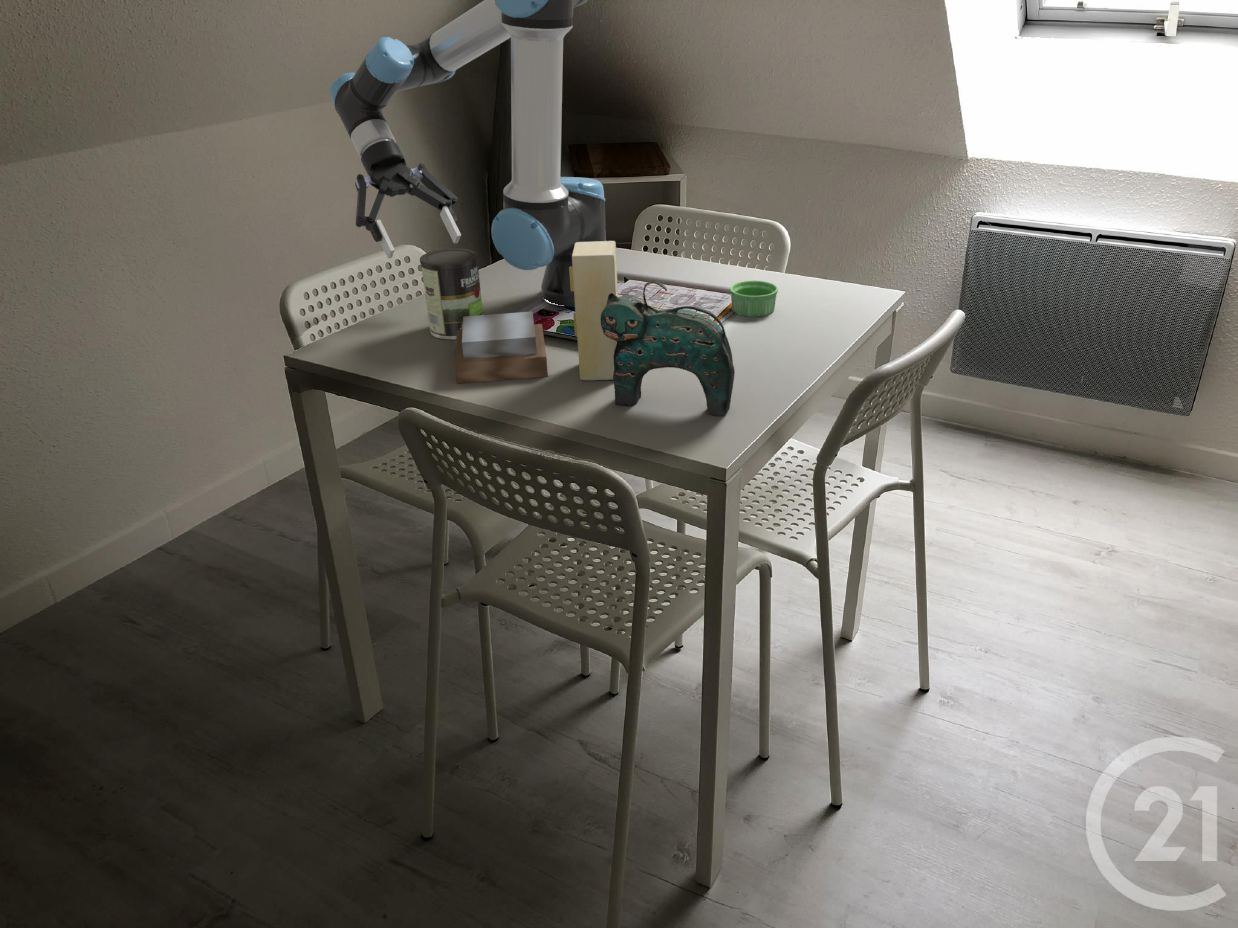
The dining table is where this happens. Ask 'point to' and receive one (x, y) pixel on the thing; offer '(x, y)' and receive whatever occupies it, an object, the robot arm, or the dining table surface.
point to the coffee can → (451, 289)
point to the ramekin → (753, 298)
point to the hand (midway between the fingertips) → (425, 247)
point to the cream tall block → (593, 306)
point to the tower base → (501, 363)
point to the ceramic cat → (667, 348)
